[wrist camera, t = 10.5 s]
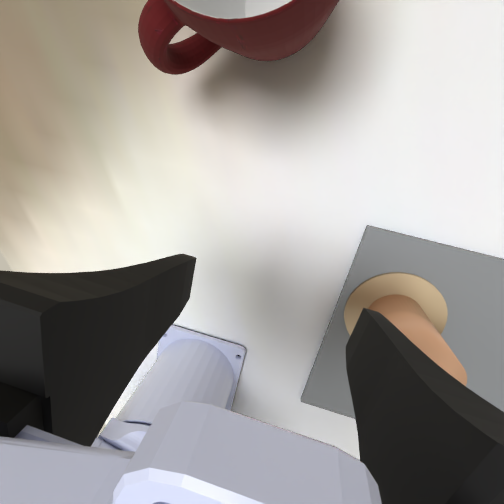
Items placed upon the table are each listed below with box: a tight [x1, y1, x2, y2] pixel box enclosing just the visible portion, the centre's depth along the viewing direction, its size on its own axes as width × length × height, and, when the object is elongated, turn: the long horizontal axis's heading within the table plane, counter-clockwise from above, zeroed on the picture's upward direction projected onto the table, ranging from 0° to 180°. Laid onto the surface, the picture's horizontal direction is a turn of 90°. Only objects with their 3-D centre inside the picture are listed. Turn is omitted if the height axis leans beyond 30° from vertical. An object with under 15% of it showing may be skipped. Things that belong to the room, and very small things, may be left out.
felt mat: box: [301, 225, 504, 419], centre depth 22 cm, size 17×22×1 cm
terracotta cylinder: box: [368, 294, 467, 386], centre depth 18 cm, size 4×4×6 cm
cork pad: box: [344, 272, 448, 336], centre depth 21 cm, size 7×7×1 cm
